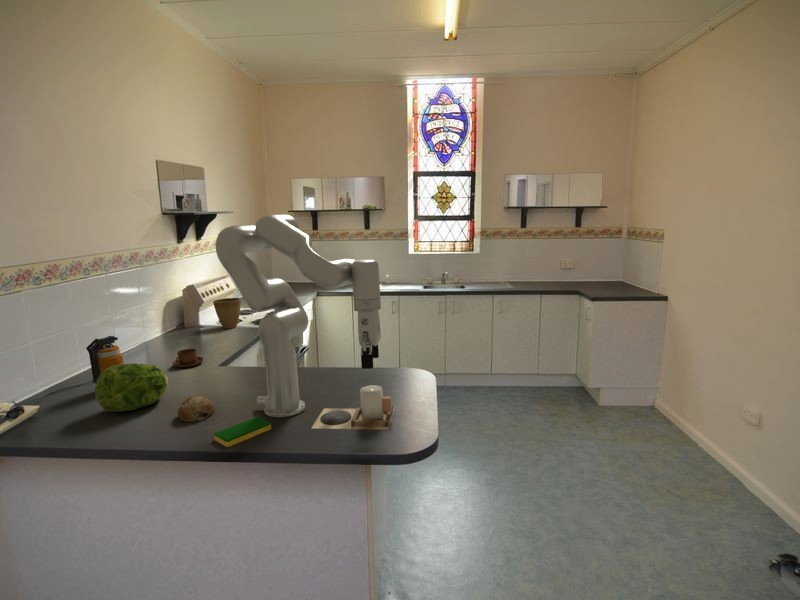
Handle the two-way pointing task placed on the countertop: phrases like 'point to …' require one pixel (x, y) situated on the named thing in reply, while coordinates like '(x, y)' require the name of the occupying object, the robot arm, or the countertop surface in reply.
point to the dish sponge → (242, 431)
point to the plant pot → (228, 311)
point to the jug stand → (350, 420)
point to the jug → (374, 403)
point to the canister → (103, 355)
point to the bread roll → (195, 409)
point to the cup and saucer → (187, 358)
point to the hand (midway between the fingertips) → (370, 362)
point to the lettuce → (130, 386)
